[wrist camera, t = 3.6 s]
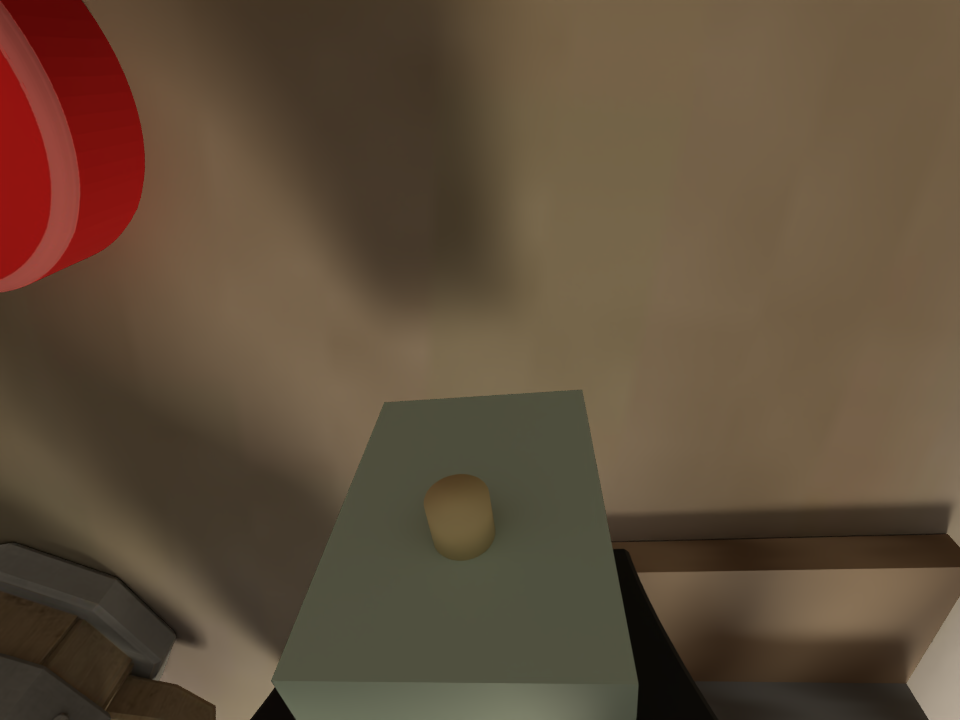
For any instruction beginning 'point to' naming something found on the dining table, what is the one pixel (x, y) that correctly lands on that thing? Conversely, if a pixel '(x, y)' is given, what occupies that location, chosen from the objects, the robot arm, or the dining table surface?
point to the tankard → (82, 646)
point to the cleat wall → (802, 620)
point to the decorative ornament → (62, 140)
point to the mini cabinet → (467, 574)
